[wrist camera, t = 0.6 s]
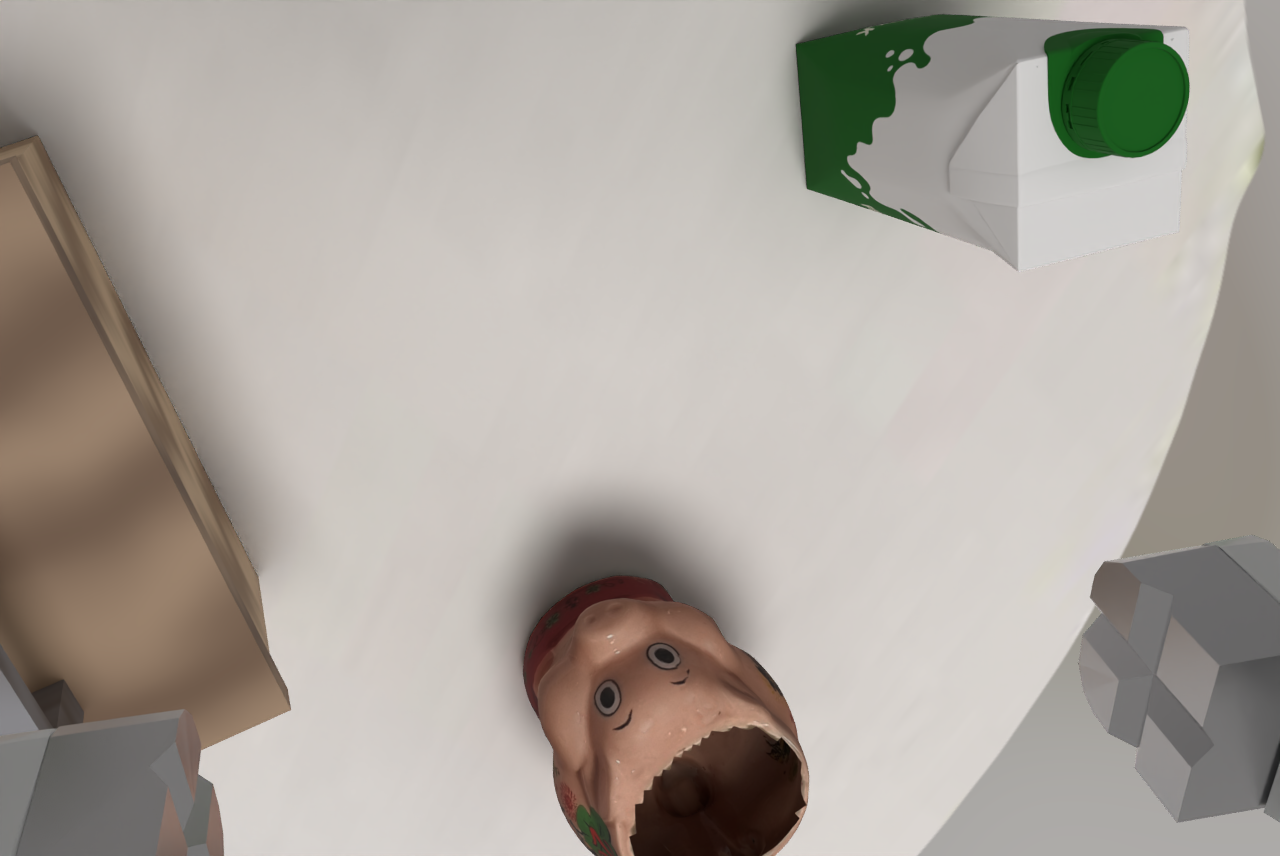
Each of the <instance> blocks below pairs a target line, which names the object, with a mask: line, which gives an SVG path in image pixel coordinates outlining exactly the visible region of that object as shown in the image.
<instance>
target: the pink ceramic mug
mask: <svg viewBox="0 0 1280 856" xmlns="http://www.w3.org/2000/svg"><path fill="white" fill-rule="evenodd" d="M523 676H524V683H525V687H526V691H527V695H528V698H529V701H530V703H531V705H532V707H533V709H534V711H535V713H536V714H537V716H538V718H539V720H540V722H541V725H542V728H543V731H544V733H545V735H546V737H547V739H548V740H549V742H550V744H551V746H552V747H553V778H554V785H555V791H556V794H557V798H558V801H559V804H560V807H561V809H562V811H563V813H564V815H565V817H566V819H567V821H568V823H569V825H570V826H571V828H572V829H573V831H574V832H575V834H576V835H577V837H578V838H579V839H580V841H581V842H582V843H583V844H584V845H585V846H586V848H587V849H588V850H589V851H591V852H592V853H593V854H594V855H595V856H775V855H776V854H777V853H778V852H779V851H780V850H781V849H782V848H783V847H784V846H785V845H786V844H787V843H788V841H789V840H790V839H791V837H792V836H793V834H794V833H795V831H796V830H797V828H798V826H799V824H800V822H801V820H802V818H803V815H804V813H805V810H806V807H807V802H808V790H809V771H808V766H807V762H806V759H805V756H804V753H803V751H802V748H801V746H800V743H799V741H798V736H797V729H796V725H795V722H794V719H793V717H792V714H791V711H790V709H789V706H788V704H787V702H786V700H785V698H784V696H783V694H782V692H781V690H780V689H779V687H778V685H777V684H776V683H775V681H774V680H773V679H772V677H771V676H770V675H769V674H768V673H767V671H766V670H765V669H764V668H763V667H762V666H761V665H760V664H759V663H758V662H757V661H756V660H755V659H754V658H753V657H752V656H751V655H749V654H748V653H746V652H745V651H743V650H741V649H739V648H737V647H735V646H733V645H731V644H729V643H728V642H727V641H726V640H725V638H724V637H723V635H722V634H721V632H720V630H719V628H718V626H717V624H716V623H715V621H714V620H713V618H711V617H710V616H708V615H707V614H705V613H704V612H702V611H700V610H698V609H696V608H694V607H692V606H689V605H686V604H683V603H680V602H674V601H673V600H672V598H671V597H670V595H669V594H668V592H667V591H666V590H665V588H664V587H663V586H662V585H660V584H659V583H657V582H655V581H653V580H650V579H646V578H640V577H633V576H613V577H608V578H604V579H600V580H597V581H594V582H591V583H589V584H587V585H584V586H582V587H580V588H578V589H576V590H575V591H573V592H571V593H570V594H568V595H567V596H565V597H564V598H563V599H561V600H560V601H559V602H558V603H556V604H555V605H554V606H553V607H552V608H551V609H550V610H549V611H548V612H547V613H546V614H545V615H544V616H543V617H542V618H541V620H540V621H539V623H538V624H537V626H536V627H535V629H534V630H533V632H532V634H531V636H530V639H529V642H528V645H527V648H526V653H525V658H524V666H523Z"/></svg>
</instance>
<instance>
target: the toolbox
mask: <svg viewBox="0 0 1280 856" xmlns="http://www.w3.org/2000/svg"><path fill="white" fill-rule="evenodd" d="M181 709H185V710H187V711H188V712H189V713H191V714H192V716H193V719H194V722H195V726H196V729H197V732H198V735H199V738H200V741H201V744H202V745H201V750H203V749H205V748H207V747H209V746H212V745H214V744H216V743H218V742H221V741H223V740H225V739H227V738H229V737H232V736H234V735H236V734H238V733H241V732H243V731H245V730H247V729H250V728H252V727H254V726H256V725H258V724H261V723H263V722H265V721H267V720H270V719H272V718H274V717H276V716H278V715H281V714H283V713H285V712H287V711H290V710H291V707H290V701H289V695H288V689H287V687H286V685H285V683H284V681H283V679H282V677H281V675H280V673H279V671H278V669H277V667H276V665H275V663H274V661H273V660H272V658H271V656H270V653H269V647H268V640H267V633H266V626H265V619H264V613H263V606H262V599H261V592H260V586H259V579H258V576H257V574H256V572H255V570H254V568H253V566H252V564H251V562H250V560H249V558H248V556H247V554H246V552H245V550H244V548H243V546H242V544H241V542H240V540H239V538H238V536H237V534H236V532H235V530H234V528H233V526H232V524H231V522H230V520H229V518H228V516H227V514H226V512H225V510H224V508H223V506H222V504H221V502H220V500H219V498H218V496H217V494H216V492H215V490H214V488H213V486H212V484H211V482H210V480H209V478H208V476H207V474H206V472H205V470H204V468H203V466H202V464H201V462H200V460H199V458H198V456H197V454H196V452H195V450H194V448H193V446H192V444H191V442H190V440H189V438H188V436H187V434H186V432H185V430H184V428H183V426H182V424H181V422H180V420H179V418H178V416H177V414H176V412H175V410H174V408H173V406H172V404H171V402H170V400H169V398H168V396H167V394H166V392H165V390H164V388H163V386H162V384H161V382H160V380H159V378H158V375H157V373H156V371H155V369H154V367H153V365H152V363H151V361H150V359H149V357H148V355H147V353H146V351H145V349H144V347H143V345H142V343H141V341H140V339H139V337H138V335H137V333H136V331H135V329H134V327H133V325H132V323H131V321H130V319H129V317H128V315H127V313H126V311H125V309H124V307H123V305H122V303H121V301H120V299H119V297H118V295H117V293H116V291H115V289H114V287H113V285H112V283H111V281H110V279H109V277H108V275H107V273H106V271H105V269H104V267H103V265H102V263H101V261H100V259H99V257H98V255H97V253H96V251H95V249H94V247H93V245H92V243H91V241H90V239H89V237H88V235H87V233H86V231H85V229H84V227H83V225H82V223H81V221H80V219H79V217H78V215H77V213H76V211H75V209H74V207H73V205H72V203H71V201H70V199H69V197H68V195H67V193H66V191H65V189H64V187H63V185H62V183H61V181H60V179H59V177H58V175H57V173H56V171H55V169H54V167H53V165H52V163H51V161H50V159H49V157H48V155H47V153H46V151H45V149H44V147H43V145H42V142H41V140H40V138H39V136H38V135H37V136H34V137H31V138H28V139H25V140H22V141H19V142H16V143H13V144H10V145H7V146H4V147H1V148H0V736H2V735H9V734H16V733H23V732H30V731H37V730H44V729H58V727H59V726H66V725H73V724H80V723H87V722H95V721H102V720H109V719H116V718H124V717H131V716H138V715H145V714H152V713H160V712H167V711H174V710H181Z"/></svg>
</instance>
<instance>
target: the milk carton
mask: <svg viewBox="0 0 1280 856" xmlns="http://www.w3.org/2000/svg"><path fill="white" fill-rule="evenodd" d="M796 52H797V64H798V77H799V90H800V103H801V116H802V129H803V142H804V155H805V168H806V181H807V189H809V190H812V191H815V192H818V193H822V194H825V195H828V196H831V197H834V198H837V199H840V200H843V201H846V202H849V203H852V204H855V205H858V206H861V207H864V208H867V209H870V210H873V211H876V212H879V213H882V214H885V215H888V216H891V217H894V218H897V219H900V220H903V221H906V222H909V223H912V224H915V225H918V226H921V227H923V228H926V229H929V230H932V231H935V232H938V233H941V234H944V235H947V236H950V237H953V238H956V239H959V240H961V241H964V242H967V243H970V244H973V245H976V246H979V247H982V248H985V249H988V250H990V251H993V252H994V253H995V254H996V255H998V256H999V257H1000V258H1002V259H1003V260H1004V261H1005V262H1007V263H1008V264H1009V265H1010V266H1012V267H1013V268H1014V269H1016V270H1017V271H1018V272H1023V271H1027V270H1031V269H1035V268H1039V267H1043V266H1047V265H1051V264H1055V263H1059V262H1063V261H1067V260H1070V259H1074V258H1078V257H1082V256H1086V255H1090V254H1094V253H1098V252H1102V251H1106V250H1110V249H1114V248H1118V247H1122V246H1126V245H1130V244H1134V243H1138V242H1142V241H1146V240H1150V239H1154V238H1158V237H1162V236H1166V235H1170V234H1174V233H1177V232H1179V228H1180V206H1181V182H1182V169H1185V168H1186V163H1187V138H1186V124H1187V105H1188V100H1189V77H1188V63H1189V30H1188V29H1187V28H1186V27H1178V26H1155V25H1134V24H1113V23H1092V22H1075V21H1058V20H1041V19H1023V18H1004V17H986V16H967V15H946V14H941V15H930V16H924V17H917V18H911V19H905V20H900V21H895V22H891V23H886V24H881V25H876V26H872V27H867V28H863V29H859V30H854V31H850V32H846V33H842V34H837V35H833V36H829V37H825V38H821V39H816V40H812V41H808V42H804V43H799V44H796Z"/></svg>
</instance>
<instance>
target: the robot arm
mask: <svg viewBox="0 0 1280 856" xmlns="http://www.w3.org/2000/svg"><path fill="white" fill-rule="evenodd" d="M1090 598H1091V599H1092V601H1093V602H1094V604H1095V605H1096V606H1097V608H1098V609H1099V611H1100V612H1101V615H1100V616H1099V617H1098V618H1097V619H1096V620H1095V621H1094V623H1093V624H1092V625H1091V626H1090V627H1089V628H1088V630H1087V631H1086V632H1085V633H1084V634H1083V636H1082V642H1081V649H1080V657H1079V663H1078V664H1079V670H1080V675H1081V681H1082V686H1083V691H1084V694H1085V696H1086V699H1087V701H1088V703H1089V705H1090V707H1091V710H1092V712H1093V714H1094V715H1095V716H1096V718H1097V719H1098V720H1099V722H1100V723H1101V724H1102V726H1103V727H1104V729H1105V730H1106V731H1107V733H1109V734H1111V735H1113V736H1115V737H1117V738H1119V739H1121V740H1123V741H1125V742H1127V743H1129V744H1131V745H1133V746H1134V747H1136V748H1137V749H1136V760H1135V769H1136V770H1137V772H1138V773H1139V774H1140V776H1141V777H1142V778H1143V780H1144V781H1145V782H1146V783H1147V785H1148V786H1149V787H1150V789H1151V790H1152V791H1153V793H1154V794H1155V795H1156V796H1157V798H1158V799H1159V800H1160V801H1161V803H1162V804H1163V805H1164V807H1165V808H1166V809H1167V810H1168V812H1169V813H1170V814H1171V816H1172V817H1173V818H1174V820H1175V821H1176V822H1184V821H1189V820H1195V819H1201V818H1207V817H1213V816H1219V815H1225V814H1230V813H1236V812H1242V811H1248V810H1254V809H1260V808H1265V810H1264V813H1266V814H1267V815H1269V816H1270V817H1272V818H1274V819H1275V820H1277V821H1278V822H1280V549H1278V548H1277V547H1276V546H1275V545H1274V544H1273V543H1271V542H1270V541H1268V540H1266V539H1263V538H1260V537H1258V536H1255V535H1249V536H1243V537H1238V538H1232V539H1227V540H1221V541H1216V542H1211V543H1205V544H1203V545H1202V546H1195V547H1188V548H1183V549H1177V550H1170V551H1164V552H1159V553H1152V554H1147V555H1141V556H1135V557H1129V558H1123V559H1117V560H1111V561H1105V562H1104V563H1103V564H1102V565H1101V567H1100V568H1099V570H1098V571H1097V573H1096V574H1095V577H1094V581H1093V586H1092V591H1091V595H1090ZM201 745H202V744H201V741H200V738H199V735H198V732H197V729H196V726H195V722H194V719H193V716H192V714H191V713H189V712H188V711H187V710H185V709H181V710H174V711H167V712H160V713H152V714H145V715H138V716H131V717H124V718H116V719H109V720H102V721H95V722H87V723H80V724H73V725H66V726H59V727H58V729H44V730H37V731H30V732H23V733H16V734H9V735H2V736H0V856H224V846H223V829H222V823H221V817H220V811H219V805H218V801H217V798H216V794H215V790H214V786H213V784H212V783H211V782H209V781H208V780H206V779H205V778H203V777H202V776H200V775H199V774H198V769H199V761H200V753H201Z"/></svg>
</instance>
